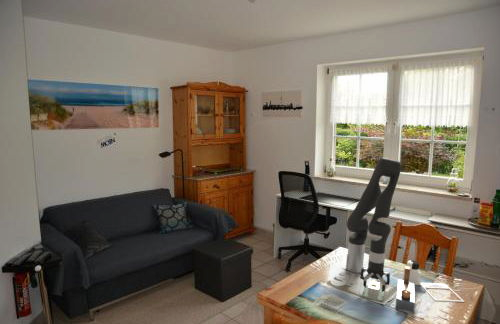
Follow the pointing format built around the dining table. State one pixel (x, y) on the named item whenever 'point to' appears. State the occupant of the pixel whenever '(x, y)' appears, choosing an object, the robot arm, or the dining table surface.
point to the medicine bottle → (414, 272)
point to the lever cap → (373, 288)
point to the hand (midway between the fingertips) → (373, 289)
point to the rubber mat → (379, 298)
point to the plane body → (405, 293)
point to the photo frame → (439, 286)
